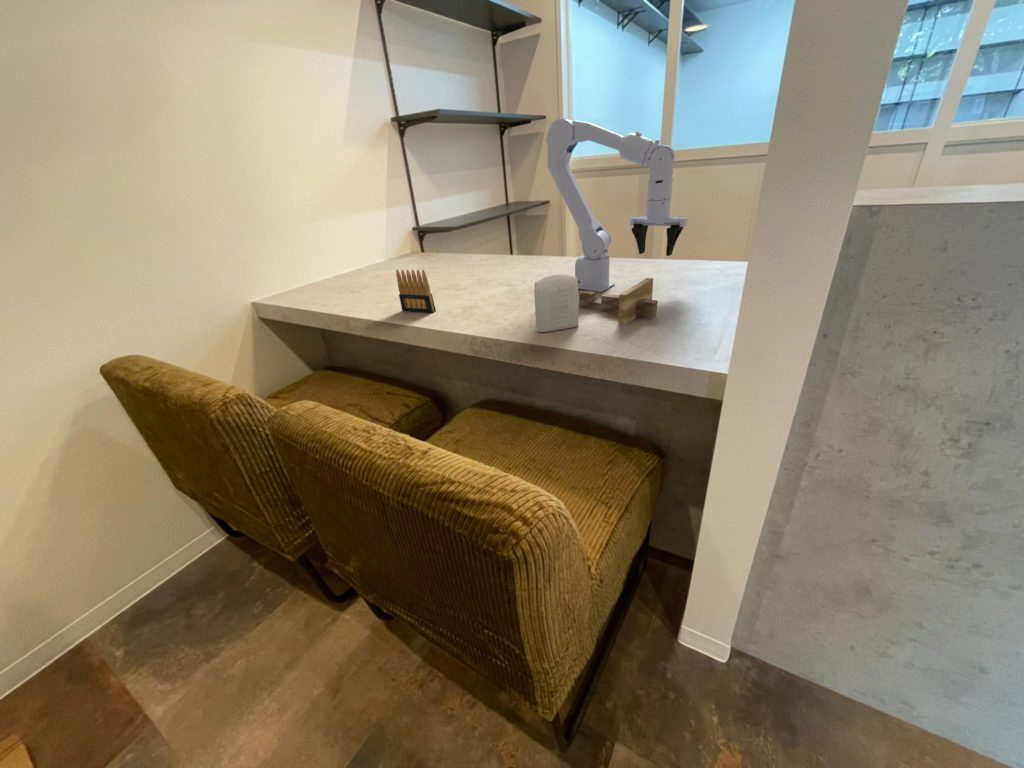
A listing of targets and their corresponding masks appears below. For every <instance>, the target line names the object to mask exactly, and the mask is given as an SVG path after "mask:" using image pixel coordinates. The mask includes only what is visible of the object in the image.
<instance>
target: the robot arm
mask: <svg viewBox="0 0 1024 768" xmlns="http://www.w3.org/2000/svg"><path fill="white" fill-rule="evenodd" d="M642 134H643V133H642V132H640V131H635V133H634V132H629V133H628V134H626V135H624V136H623V135H621V134H618V133H616V132H613V131H611V130H608V129H607V128H605V127H601V126H599V125H598V124H594V123H592V122H587V121H582V120H576V119H573V118H569V119H566V118H562V117H561V118H557V119H555V120H554V121H553V122H552V123H551V124H550V126H549V129H548V132H547V134H546V138H545V143H546V145H547V168H548V170H549V172H550V175H551V177H552V178H553V180H554V183H555V185H556V187H557V188H558V190H559V192H560V195H561V196H562V199H563V200H564V202H565V205H566V206H567V208H568V210H569V212H570V213H571V216H572V218H573V220H574V222H575V223H576V225H577V227H578V236H579V239H580V241H581V250H582V253H583V254H582V255H579V256H578V257H577V259H576V261H575V264H574V276H575V277H576V278H577V281H578V290H585V291H592V292H599V293H601V292H602V293H603V292H604V291H606V290H607V289H609V288H611V287H613V286H615V285H616V283H615V282H610V263H611V262H610V258H611V257H610V256H611V255H610V254H611V253H610V252H609V251H608V248H609V247H610V245H611V243H612V237H611V234H610V233H609V231H608V230H607V229H605V228H604V227H603V225H602V224H601V222H600V221H599V220H598V219H597V218H596V217H595V215H594V213H593V211H592V208H591V206H590V204H589V203H588V201H587V199H586V197H585V194H584V193H583V190H582V189H581V185H579V182H578V181H577V178H576V176H575V174H574V172H573V170H572V169H571V165H570V160H571V157H572V153H573V151H574V150H575V148H576V146H577V145H578V144H579V143H584V142H589V141H590V142H593V143H595V144H598V145H602V146H604V147H608V148H610V149H614V150H617V151H618V153H619V156H620V158H621V159H623V160H625V161H628V162H631V163H632V164H633V163H634V164H637V165H639V166H641V167H647V166H648V168H649V177H648V181H647V183H648V184H647V198H646V199H647V200H646V213H645V214H646V216H633V217H630V218H629V226H632V228H631V233H632V235H633V237H634V238H635V241H636V245H637V249H638V255H642V254H645V253H646V252H645V251H646V240H647V233H648V228H649V226H652V227H653V226H656V227H658V226H659V227H667V228H666V229H665V230H666V249H665V250H666V251H665V253H666V254H665V255H666V257H669V256H672V255H673V251H674V249H675V248H674V247H675V245H676V242H677V241H678V238H679V237H680V235H681V233H682V232H683V229H684V228H685V227H686V226H688V225H687V224H688V217H683V216H682V217H681V216H670V215H671V202H672V194H673V193H672V191H673V182H674V181H673V180H674V179H673V174H674V170H673V167H672V166H673V164H674V163H675V160H676V152H675V149H674V148H673V147H672V146H670V145H669V144H667V143H662V144H661V140H660V139H655V140H653V139H650V138H648V137H645V136H642Z"/></svg>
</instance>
